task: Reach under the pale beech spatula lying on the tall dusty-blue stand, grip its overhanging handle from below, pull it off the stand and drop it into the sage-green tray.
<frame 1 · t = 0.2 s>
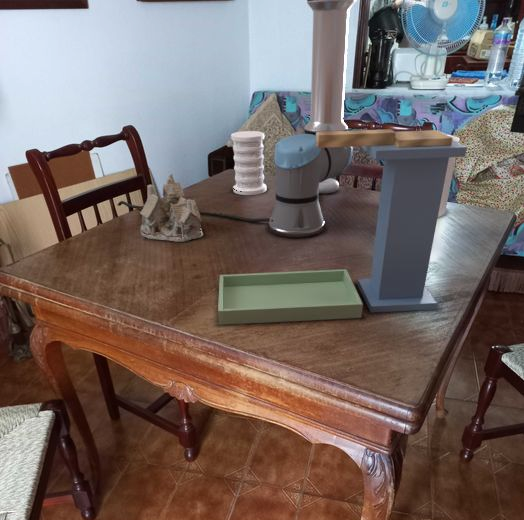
ceramic cottage: (172, 233, 132), on the table
canister: (417, 210, 142), on the table
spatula: (392, 143, 81), point 30 cm above the table, touching stand
stand: (387, 297, 98), on the table
donut: (323, 191, 161), on the table
decorative container: (250, 190, 164), on the table
tray: (286, 301, 97), on the table
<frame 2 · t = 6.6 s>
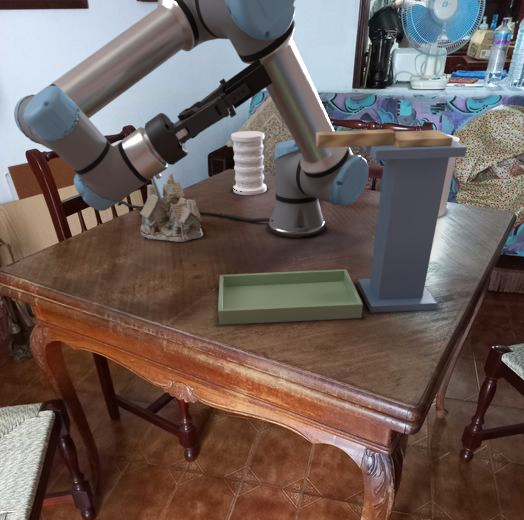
hand: (265, 69, 74), 42 cm above the table, tool pointing upward, fingers open, 13 cm apart
nothing on the table moved.
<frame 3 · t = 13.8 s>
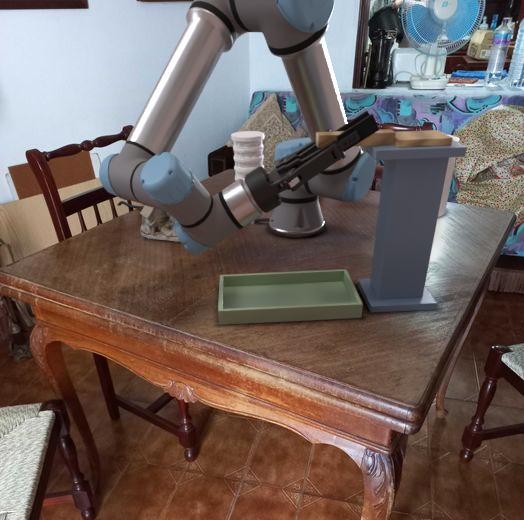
hand: (372, 120, 78), 34 cm above the table, tool pointing upward, fingers closed on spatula, 3 cm apart
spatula: (392, 143, 81), point 30 cm above the table, touching gripper, stand
everything else where it was.
when the fingers open (22 cm above the table, at t = 21.9 s): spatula drops 18 cm, resting on tray.
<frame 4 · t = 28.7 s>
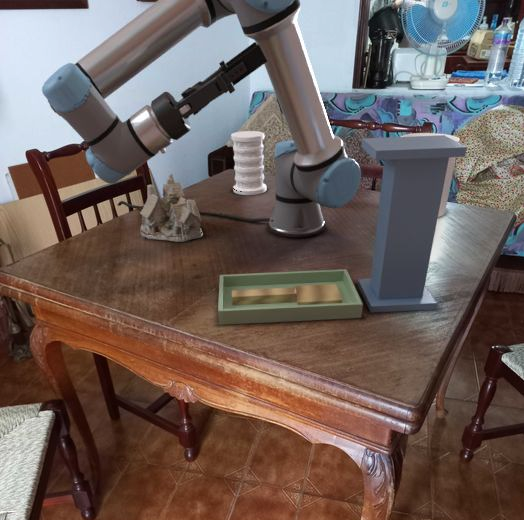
hand: (261, 50, 81), 44 cm above the table, tool pointing upward, fingers open, 13 cm apart
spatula: (295, 299, 97), point 1 cm above the table, touching tray
everything else where it was.
at the end: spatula inside the target area in the tray (0.1 cm from its centre), point 0.6 cm above the tray's base; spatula touching tray; the gripper is holding nothing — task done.
